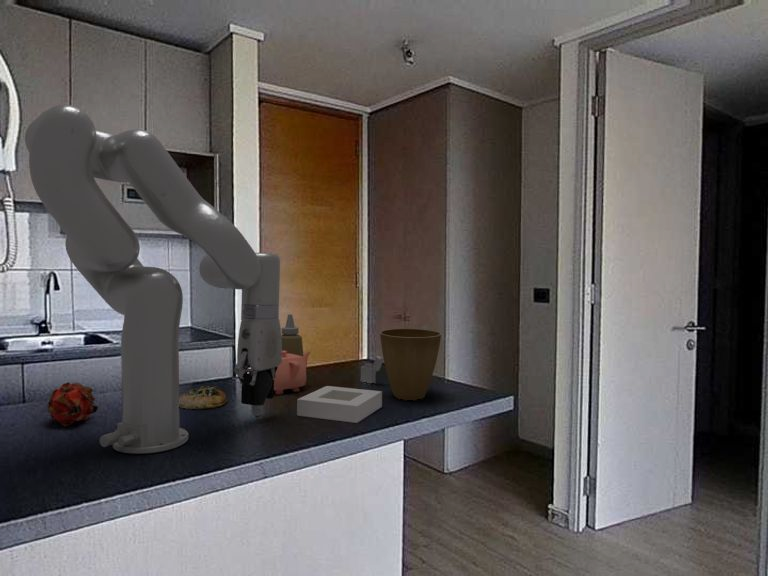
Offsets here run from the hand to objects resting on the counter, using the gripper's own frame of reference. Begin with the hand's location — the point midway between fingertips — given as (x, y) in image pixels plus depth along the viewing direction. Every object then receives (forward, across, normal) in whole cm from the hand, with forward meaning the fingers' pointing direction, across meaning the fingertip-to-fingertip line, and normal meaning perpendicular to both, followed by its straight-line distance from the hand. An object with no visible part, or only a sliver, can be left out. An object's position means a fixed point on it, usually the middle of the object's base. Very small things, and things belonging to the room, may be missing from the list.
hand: (257, 400), depth 116 cm
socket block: (+4, +14, -12) cm, 19 cm away
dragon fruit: (+5, -15, +34) cm, 37 cm away
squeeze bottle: (+4, +38, +15) cm, 41 cm away
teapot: (+4, +26, +10) cm, 28 cm away
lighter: (+3, +42, -8) cm, 43 cm away
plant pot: (+3, +32, -22) cm, 39 cm away
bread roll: (+5, +7, +19) cm, 21 cm away
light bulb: (+4, 0, 0) cm, 4 cm away
